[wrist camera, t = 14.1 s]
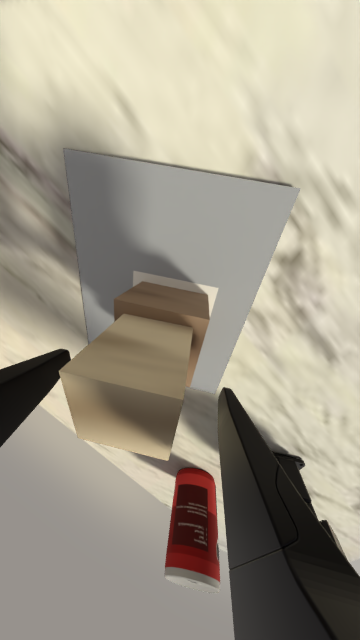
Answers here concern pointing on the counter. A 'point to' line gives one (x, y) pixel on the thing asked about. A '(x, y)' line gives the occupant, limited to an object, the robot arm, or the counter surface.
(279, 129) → the counter surface
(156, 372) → the maple block
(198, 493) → the canned food
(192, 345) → the walnut block
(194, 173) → the build mat
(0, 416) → the robot arm
